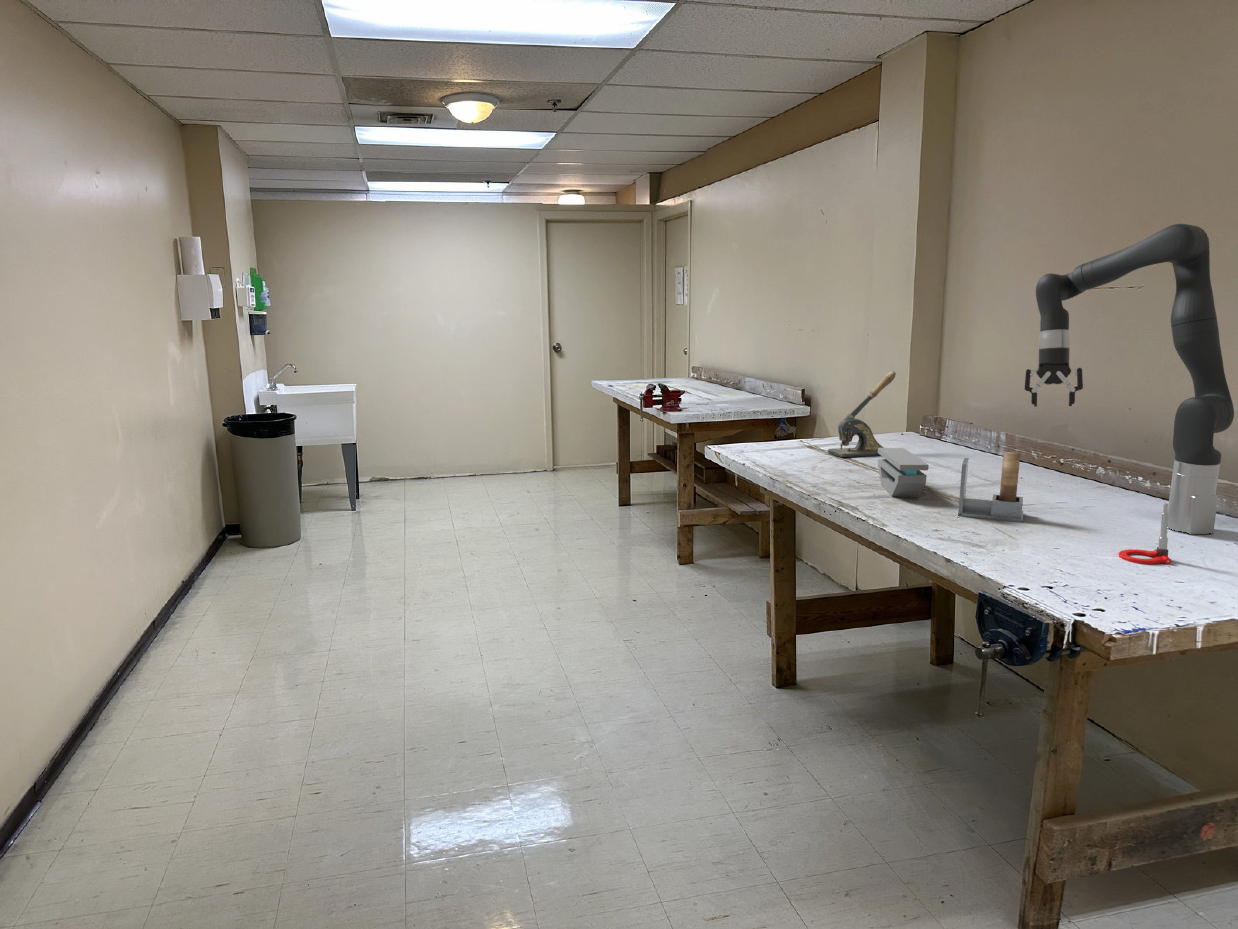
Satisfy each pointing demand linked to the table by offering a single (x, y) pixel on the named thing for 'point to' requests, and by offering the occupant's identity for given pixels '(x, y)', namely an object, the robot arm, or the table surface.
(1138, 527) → the table surface
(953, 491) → the table surface
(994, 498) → the bracket
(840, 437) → the embossing press
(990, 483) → the table surface
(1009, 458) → the tan wooden cylinder
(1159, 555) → the tow hook
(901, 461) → the grey lidded box
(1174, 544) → the table surface
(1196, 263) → the robot arm
